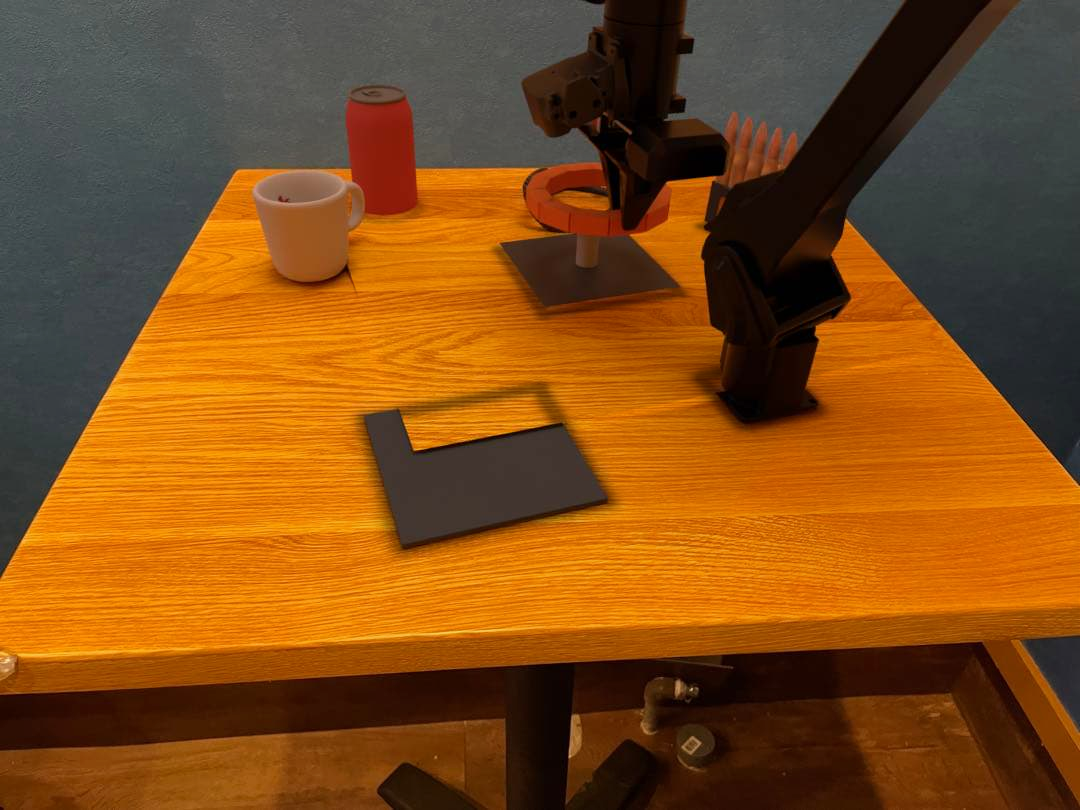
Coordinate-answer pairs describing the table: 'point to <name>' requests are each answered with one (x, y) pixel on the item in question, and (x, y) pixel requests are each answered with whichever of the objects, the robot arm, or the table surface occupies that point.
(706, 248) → the robot arm
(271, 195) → the cup
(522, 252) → the stake
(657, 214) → the ring
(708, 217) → the ammunition clip
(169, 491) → the table surface
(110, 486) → the table surface
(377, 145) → the beer can
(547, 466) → the mat
